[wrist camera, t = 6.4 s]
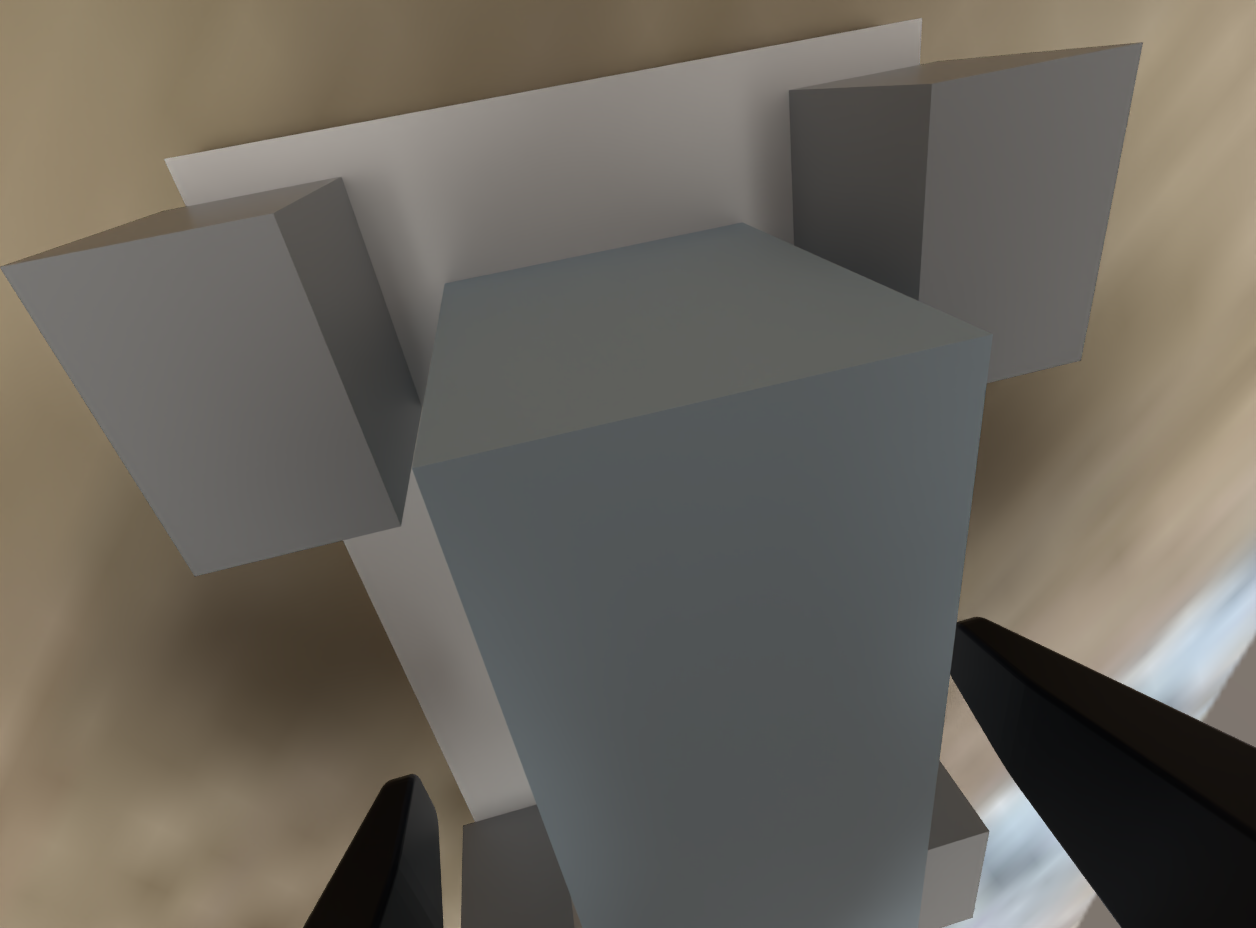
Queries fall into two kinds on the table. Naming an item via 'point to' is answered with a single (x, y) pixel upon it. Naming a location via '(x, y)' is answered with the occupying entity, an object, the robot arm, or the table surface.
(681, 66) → the jig
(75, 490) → the table surface
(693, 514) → the grey rectangular block
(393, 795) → the robot arm
